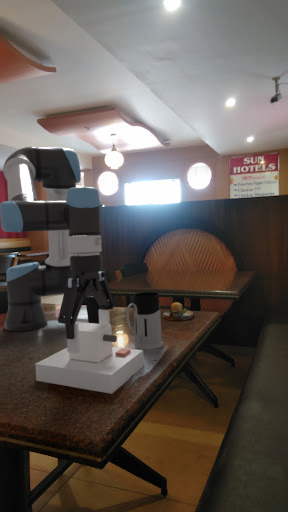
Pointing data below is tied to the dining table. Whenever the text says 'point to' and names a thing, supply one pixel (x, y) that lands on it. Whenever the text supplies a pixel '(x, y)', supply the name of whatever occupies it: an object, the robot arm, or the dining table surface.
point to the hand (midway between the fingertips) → (90, 343)
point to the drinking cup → (92, 309)
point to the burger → (178, 313)
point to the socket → (91, 370)
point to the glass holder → (146, 320)
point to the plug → (94, 342)
